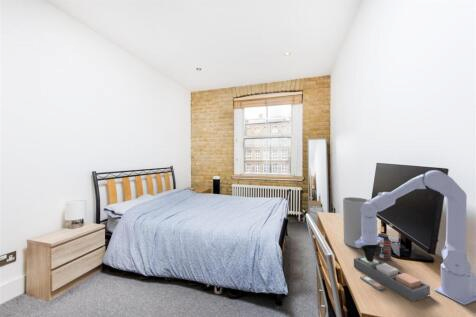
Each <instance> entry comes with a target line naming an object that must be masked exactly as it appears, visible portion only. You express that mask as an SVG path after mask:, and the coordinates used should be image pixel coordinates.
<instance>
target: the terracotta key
mask: <svg viewBox="0 0 476 317" xmlns="http://www.w3.org/2000/svg"><path fill="white" fill-rule="evenodd" d="M396 281H397V282H399V283H401V284H403V285H405V286H406V287H408V288H410V289H412V290H413V289H416V288H419V287H420V281H421V280H420V279H418V278H416V277H414V276H413V275H410V274H408V273H406V272H403V274H399V275H396Z"/></svg>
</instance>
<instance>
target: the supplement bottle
mask: <svg viewBox="0 0 476 317" xmlns="http://www.w3.org/2000/svg"><path fill="white" fill-rule="evenodd" d="M377 237H381V238H384V243H381V242H380V243H378V244H376V245H378V246H379V249H378V250H377V252H376V254H375V256H376V257H377V258H378V259H379V260H383V261H390V260H391V259H392V241H391V240H390V239H389V235H388V234H387V233H384V232H383V233H382V232H379V233H377Z"/></svg>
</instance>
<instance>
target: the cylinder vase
mask: <svg viewBox="0 0 476 317" xmlns="http://www.w3.org/2000/svg"><path fill="white" fill-rule="evenodd" d="M368 200H369V199H366V198H361V197H353V196H349V197H343V198H342V207H343V208H342V210H343V211H342V214H343V218H342V220H343V242H344V244H345V245H346V246H348V247H351V248H354V249H362V247H360V248H358V247H356V246H355V241H358V240H359V239H360V237H362V220H361V219H362V213H361V211H360V208H361V206H362V205H363V204H364V203H365V202H368ZM362 250H363V249H362Z"/></svg>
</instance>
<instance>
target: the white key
mask: <svg viewBox="0 0 476 317" xmlns="http://www.w3.org/2000/svg"><path fill="white" fill-rule="evenodd" d="M383 263H384V264H380V265H376V270H377V271H379V272H381V273H383V274H385V275H386V276H388V277H391V276H394V275H398V270H399V269H398V268H396V267H394V266H392V265H390V264H388V263H385V262H383Z"/></svg>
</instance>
